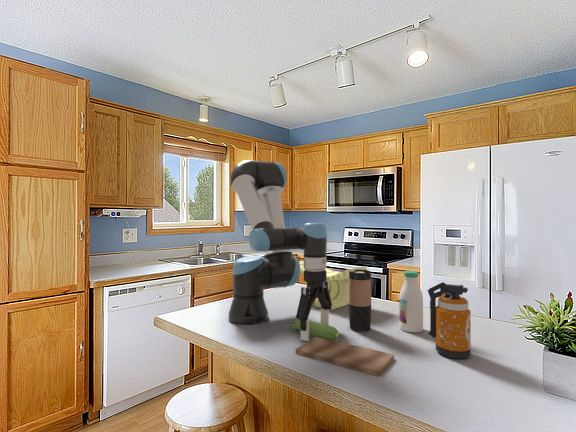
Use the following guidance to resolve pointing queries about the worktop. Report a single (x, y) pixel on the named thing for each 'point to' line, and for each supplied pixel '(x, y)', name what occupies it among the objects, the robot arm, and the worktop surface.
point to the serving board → (346, 355)
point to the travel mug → (360, 300)
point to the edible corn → (318, 330)
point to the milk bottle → (411, 304)
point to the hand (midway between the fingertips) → (315, 334)
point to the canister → (450, 320)
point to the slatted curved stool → (336, 286)
